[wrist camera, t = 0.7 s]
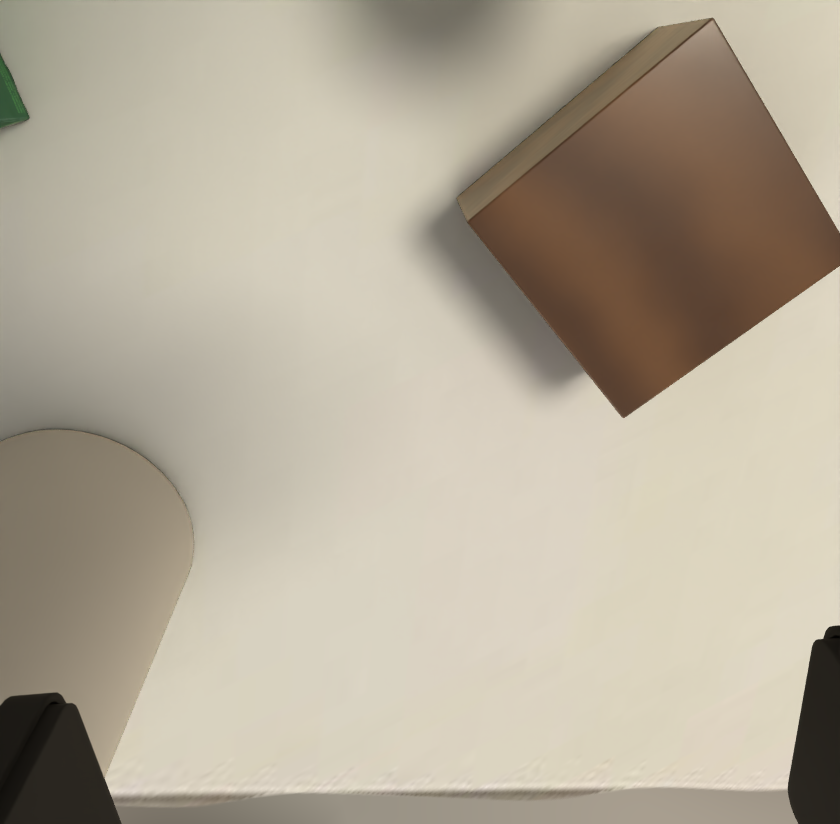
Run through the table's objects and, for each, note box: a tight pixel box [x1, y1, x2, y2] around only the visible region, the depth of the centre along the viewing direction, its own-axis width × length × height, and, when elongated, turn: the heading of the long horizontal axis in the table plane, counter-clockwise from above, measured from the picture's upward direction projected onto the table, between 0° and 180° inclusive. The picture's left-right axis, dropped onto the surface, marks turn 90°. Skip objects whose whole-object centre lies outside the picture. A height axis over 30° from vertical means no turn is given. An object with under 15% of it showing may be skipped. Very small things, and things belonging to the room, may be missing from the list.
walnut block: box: [457, 18, 840, 418], centre depth 32 cm, size 11×11×6 cm
